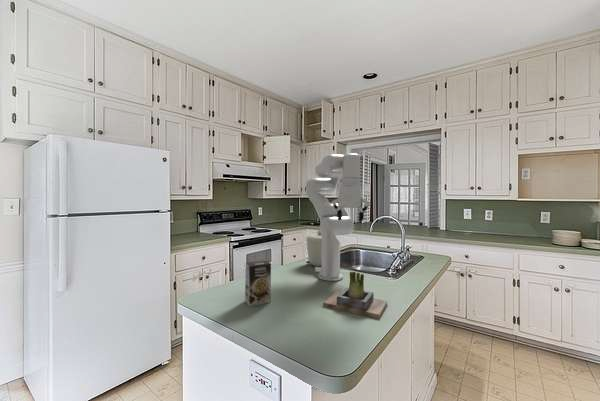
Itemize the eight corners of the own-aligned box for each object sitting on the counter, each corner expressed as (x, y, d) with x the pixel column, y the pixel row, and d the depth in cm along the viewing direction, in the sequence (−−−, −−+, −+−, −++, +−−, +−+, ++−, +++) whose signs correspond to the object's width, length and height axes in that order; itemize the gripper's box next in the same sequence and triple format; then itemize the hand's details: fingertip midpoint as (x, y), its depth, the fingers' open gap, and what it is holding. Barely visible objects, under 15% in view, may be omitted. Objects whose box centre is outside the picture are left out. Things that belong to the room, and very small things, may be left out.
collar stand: (323, 306, 114) (323, 295, 113) (335, 294, 126) (335, 284, 126) (379, 318, 103) (379, 306, 103) (387, 304, 116) (387, 293, 115)
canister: (300, 266, 169) (301, 231, 168) (310, 259, 186) (310, 227, 185) (330, 270, 163) (331, 233, 162) (337, 262, 180) (338, 228, 179)
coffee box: (249, 306, 113) (249, 266, 112) (244, 300, 118) (244, 262, 117) (271, 302, 117) (271, 263, 116) (265, 297, 122) (265, 259, 122)
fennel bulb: (365, 303, 114) (365, 273, 113) (355, 305, 111) (356, 274, 110) (355, 298, 119) (355, 269, 118) (345, 300, 116) (346, 271, 115)
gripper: (329, 181, 128) (328, 220, 129) (368, 181, 120) (367, 222, 120) (335, 182, 134) (335, 218, 135) (372, 182, 126) (371, 220, 127)
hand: (350, 220), depth 128 cm, fingers open, 9 cm apart
